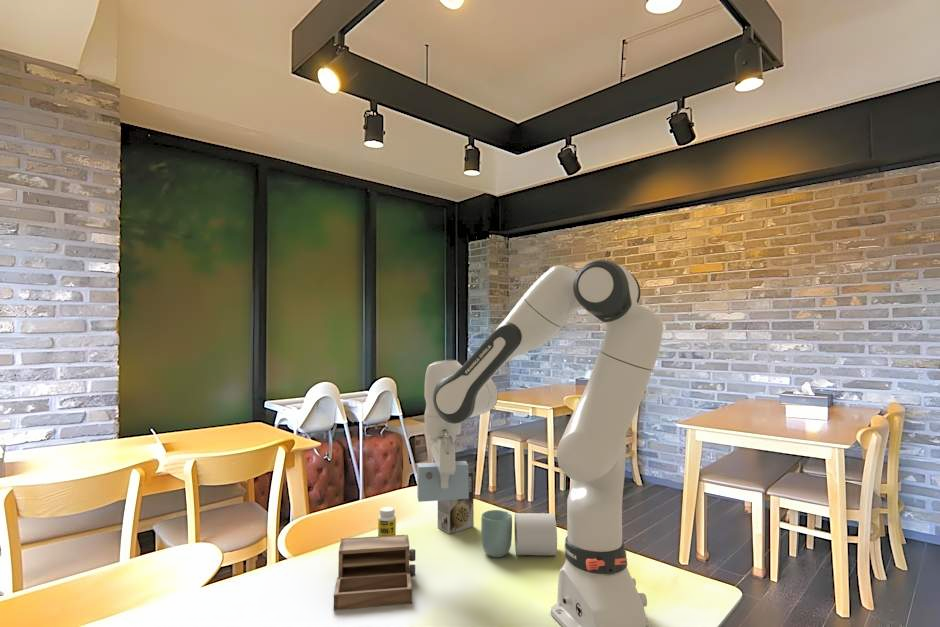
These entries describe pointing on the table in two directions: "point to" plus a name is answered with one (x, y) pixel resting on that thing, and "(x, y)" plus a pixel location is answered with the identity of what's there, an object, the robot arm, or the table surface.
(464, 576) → the table surface
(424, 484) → the door
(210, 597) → the table surface
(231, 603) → the table surface
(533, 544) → the toilet paper
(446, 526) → the coffee box
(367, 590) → the cabinet
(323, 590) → the table surface
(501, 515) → the cup
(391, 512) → the supplement bottle
